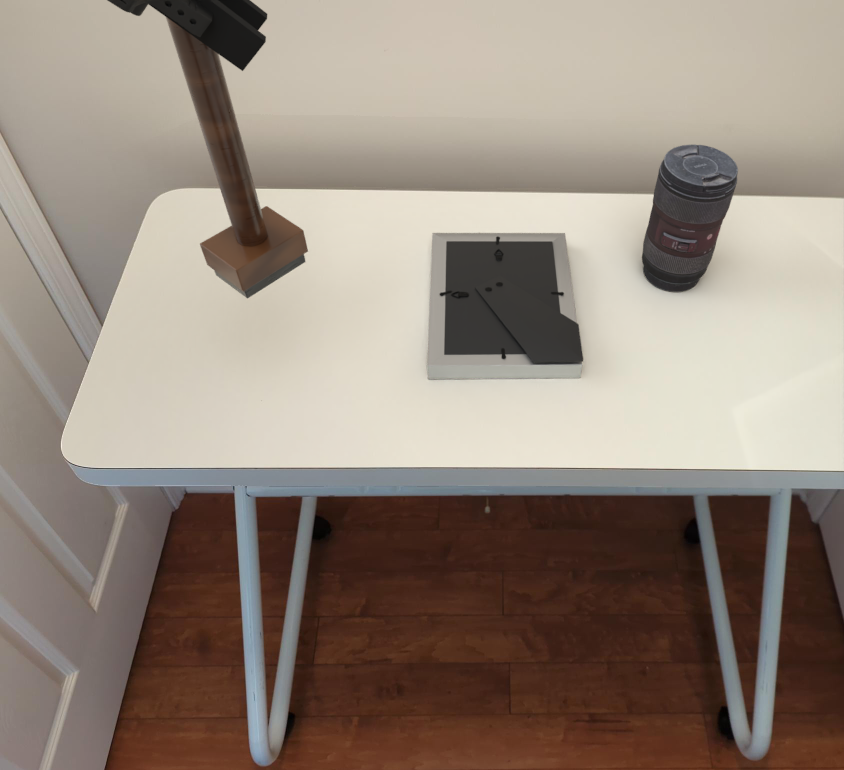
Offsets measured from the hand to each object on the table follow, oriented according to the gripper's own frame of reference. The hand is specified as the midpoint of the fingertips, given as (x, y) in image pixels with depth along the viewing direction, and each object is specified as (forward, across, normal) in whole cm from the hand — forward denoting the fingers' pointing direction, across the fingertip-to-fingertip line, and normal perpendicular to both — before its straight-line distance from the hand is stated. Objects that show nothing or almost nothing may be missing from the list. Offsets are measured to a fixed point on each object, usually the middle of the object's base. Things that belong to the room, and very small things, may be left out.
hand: (254, 41), depth 51 cm
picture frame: (+38, -6, -11) cm, 40 cm away
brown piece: (+12, 0, -17) cm, 21 cm away
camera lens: (+52, -9, +4) cm, 53 cm away
